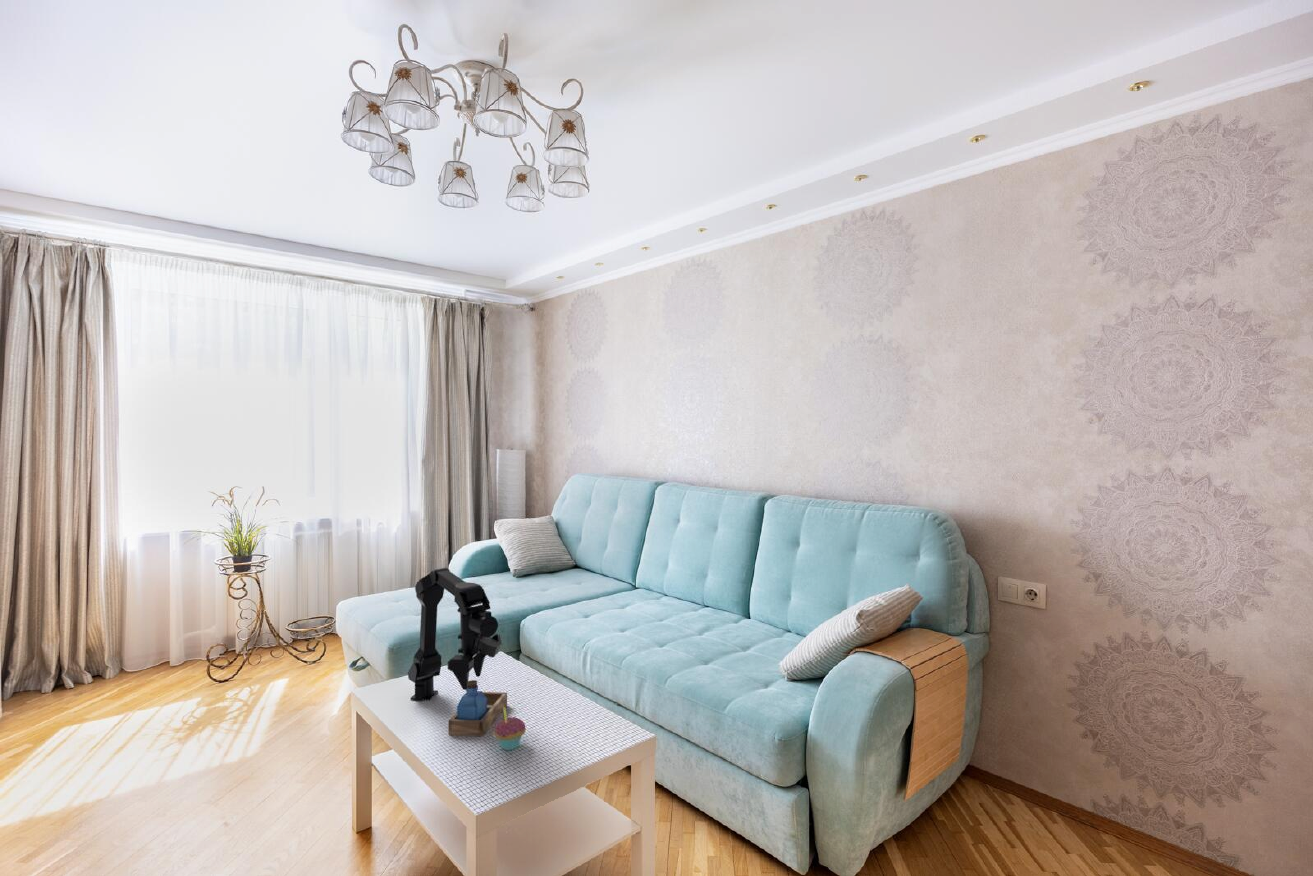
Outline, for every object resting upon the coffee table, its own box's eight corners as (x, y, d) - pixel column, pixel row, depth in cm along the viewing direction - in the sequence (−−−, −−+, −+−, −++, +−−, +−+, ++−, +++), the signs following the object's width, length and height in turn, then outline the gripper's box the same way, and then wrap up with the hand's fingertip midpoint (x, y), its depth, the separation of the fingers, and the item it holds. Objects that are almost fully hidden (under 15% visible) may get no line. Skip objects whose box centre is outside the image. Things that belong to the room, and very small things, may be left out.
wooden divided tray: (476, 704, 192) (476, 691, 192) (507, 705, 191) (506, 692, 191) (448, 734, 173) (448, 720, 173) (482, 736, 172) (482, 722, 172)
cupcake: (509, 757, 161) (508, 711, 161) (486, 748, 165) (486, 704, 165) (532, 742, 168) (531, 699, 168) (510, 735, 173) (509, 692, 172)
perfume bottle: (477, 729, 174) (476, 687, 174) (457, 727, 175) (456, 686, 175) (487, 719, 180) (486, 678, 180) (467, 717, 181) (466, 677, 181)
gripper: (484, 641, 167) (485, 697, 167) (508, 620, 186) (509, 671, 186) (446, 640, 168) (447, 696, 168) (473, 619, 187) (474, 670, 187)
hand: (471, 682), depth 177 cm, fingers open, 9 cm apart
